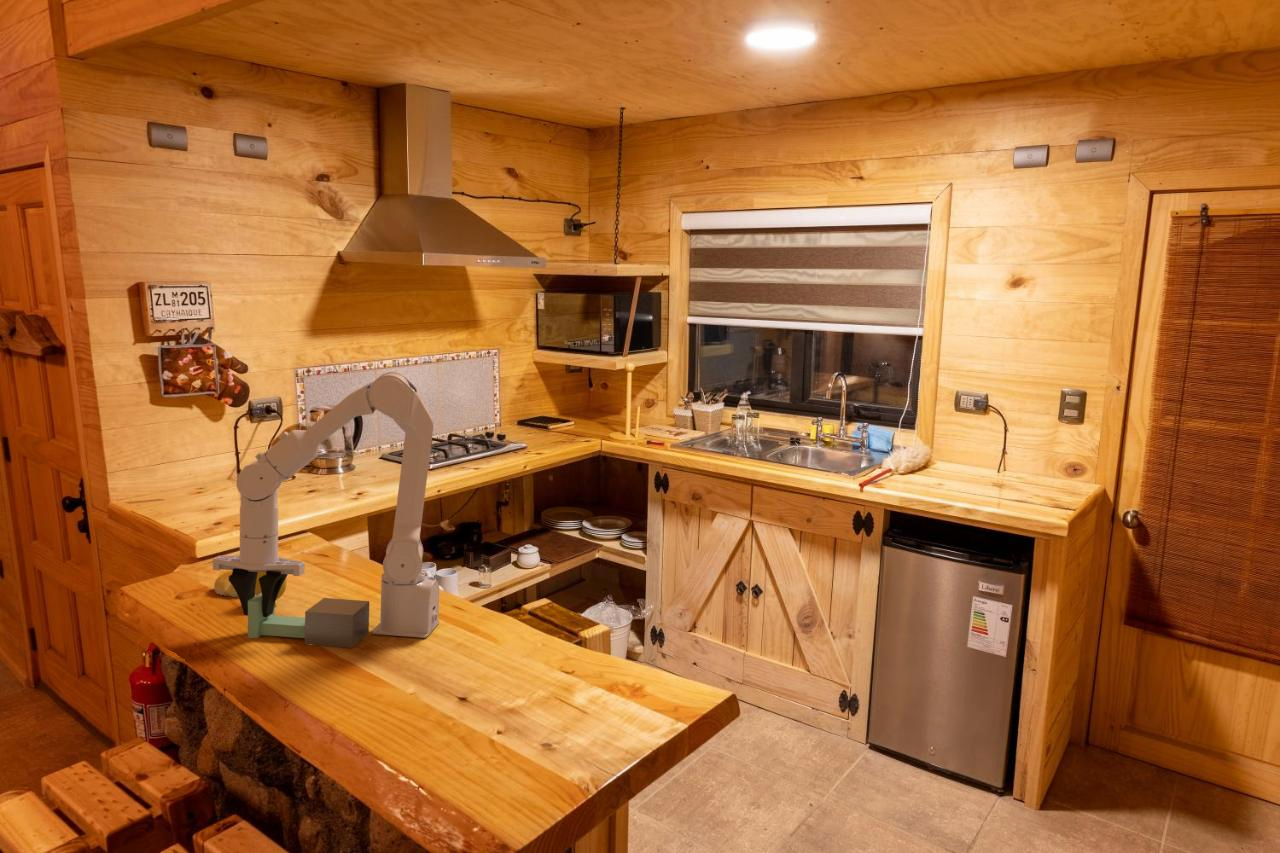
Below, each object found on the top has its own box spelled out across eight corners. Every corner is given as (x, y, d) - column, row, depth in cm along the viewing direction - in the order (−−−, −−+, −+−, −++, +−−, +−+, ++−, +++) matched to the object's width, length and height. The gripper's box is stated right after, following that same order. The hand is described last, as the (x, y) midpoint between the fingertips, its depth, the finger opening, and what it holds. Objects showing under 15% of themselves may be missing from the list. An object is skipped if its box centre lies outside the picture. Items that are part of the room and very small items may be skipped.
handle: (338, 631, 137) (338, 595, 137) (323, 643, 132) (324, 606, 131) (259, 625, 138) (259, 589, 137) (241, 637, 132) (241, 600, 132)
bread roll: (233, 582, 160) (234, 563, 160) (273, 588, 158) (274, 568, 158) (202, 595, 152) (202, 574, 152) (244, 601, 150) (244, 580, 150)
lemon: (292, 600, 151) (292, 558, 150) (276, 610, 146) (276, 566, 145) (263, 597, 152) (264, 556, 151) (246, 607, 146) (246, 564, 145)
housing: (368, 632, 138) (369, 601, 137) (352, 648, 131) (352, 615, 130) (323, 629, 138) (324, 597, 138) (304, 644, 131) (305, 611, 131)
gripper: (313, 531, 137) (312, 609, 138) (229, 525, 138) (229, 603, 139) (293, 541, 130) (292, 623, 131) (205, 535, 131) (205, 617, 132)
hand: (258, 614), depth 135 cm, fingers closed on handle, 3 cm apart
